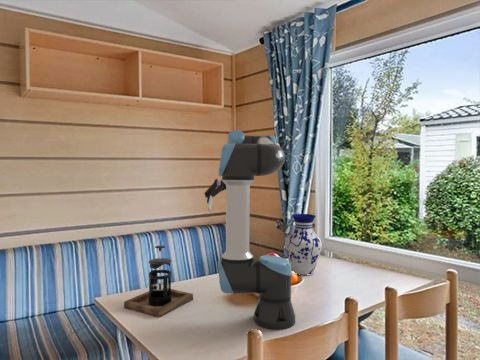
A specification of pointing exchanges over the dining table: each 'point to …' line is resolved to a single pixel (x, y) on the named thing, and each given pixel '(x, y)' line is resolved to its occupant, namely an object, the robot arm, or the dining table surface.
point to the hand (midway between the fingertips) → (224, 209)
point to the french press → (159, 290)
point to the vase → (303, 245)
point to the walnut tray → (143, 306)
